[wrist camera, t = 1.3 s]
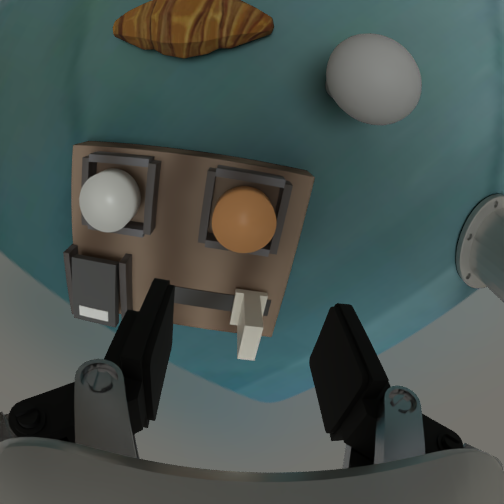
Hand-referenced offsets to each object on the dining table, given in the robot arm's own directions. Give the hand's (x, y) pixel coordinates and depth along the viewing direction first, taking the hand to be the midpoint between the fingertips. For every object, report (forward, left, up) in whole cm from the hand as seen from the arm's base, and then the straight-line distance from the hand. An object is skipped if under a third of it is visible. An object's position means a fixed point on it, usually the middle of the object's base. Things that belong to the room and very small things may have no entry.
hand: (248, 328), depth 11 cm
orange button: (0, 0, -13) cm, 13 cm away
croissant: (+7, -15, -18) cm, 24 cm away
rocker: (+12, +9, -13) cm, 20 cm away
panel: (+5, +5, -18) cm, 19 cm away
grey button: (+10, 0, -13) cm, 16 cm away
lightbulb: (-6, -11, -18) cm, 22 cm away
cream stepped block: (-2, +9, -14) cm, 17 cm away
